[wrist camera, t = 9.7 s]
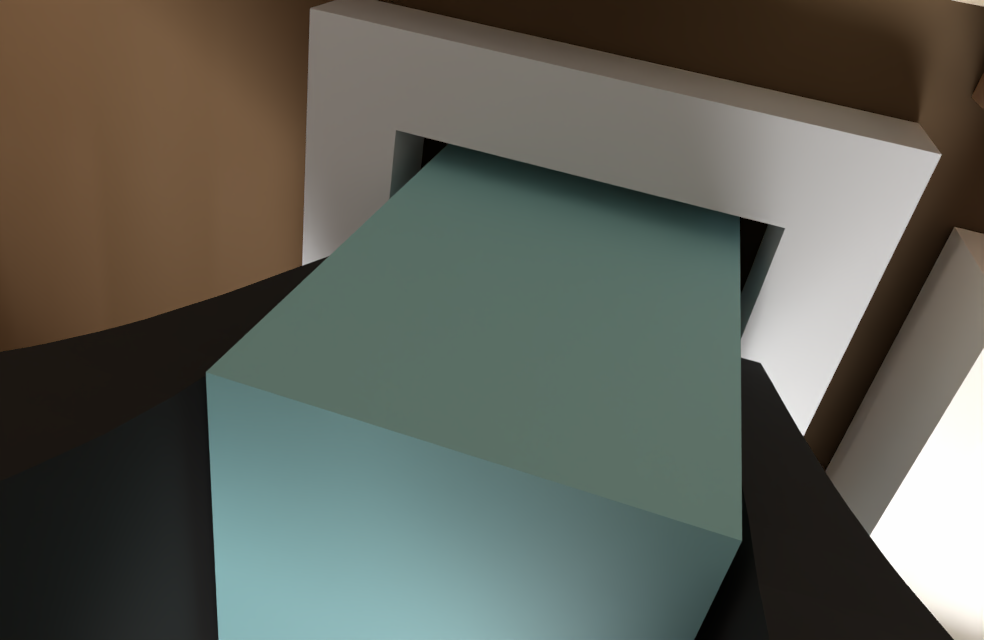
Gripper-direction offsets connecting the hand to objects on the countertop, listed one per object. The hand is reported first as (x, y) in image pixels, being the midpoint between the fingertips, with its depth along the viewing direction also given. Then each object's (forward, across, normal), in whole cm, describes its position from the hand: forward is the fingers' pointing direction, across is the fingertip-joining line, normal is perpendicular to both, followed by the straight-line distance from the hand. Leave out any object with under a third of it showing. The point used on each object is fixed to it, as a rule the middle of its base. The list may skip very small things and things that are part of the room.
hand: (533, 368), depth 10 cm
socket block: (+2, 0, 0) cm, 2 cm away
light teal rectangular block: (+2, 0, 0) cm, 2 cm away
